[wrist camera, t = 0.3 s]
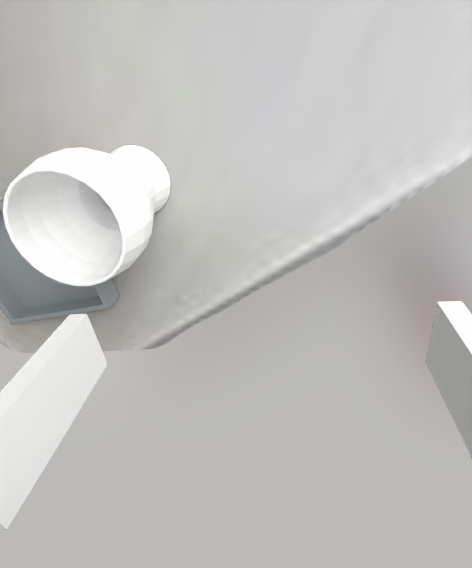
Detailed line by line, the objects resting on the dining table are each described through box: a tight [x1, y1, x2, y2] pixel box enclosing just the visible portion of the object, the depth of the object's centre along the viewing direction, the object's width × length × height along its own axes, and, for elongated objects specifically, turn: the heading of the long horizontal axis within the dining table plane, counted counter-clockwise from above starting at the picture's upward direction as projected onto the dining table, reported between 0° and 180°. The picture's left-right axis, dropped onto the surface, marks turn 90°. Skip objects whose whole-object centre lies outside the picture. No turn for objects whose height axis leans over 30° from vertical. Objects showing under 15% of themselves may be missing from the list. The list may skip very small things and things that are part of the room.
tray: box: [0, 200, 120, 324], centre depth 44 cm, size 15×15×3 cm
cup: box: [3, 145, 171, 286], centre depth 33 cm, size 11×11×15 cm
